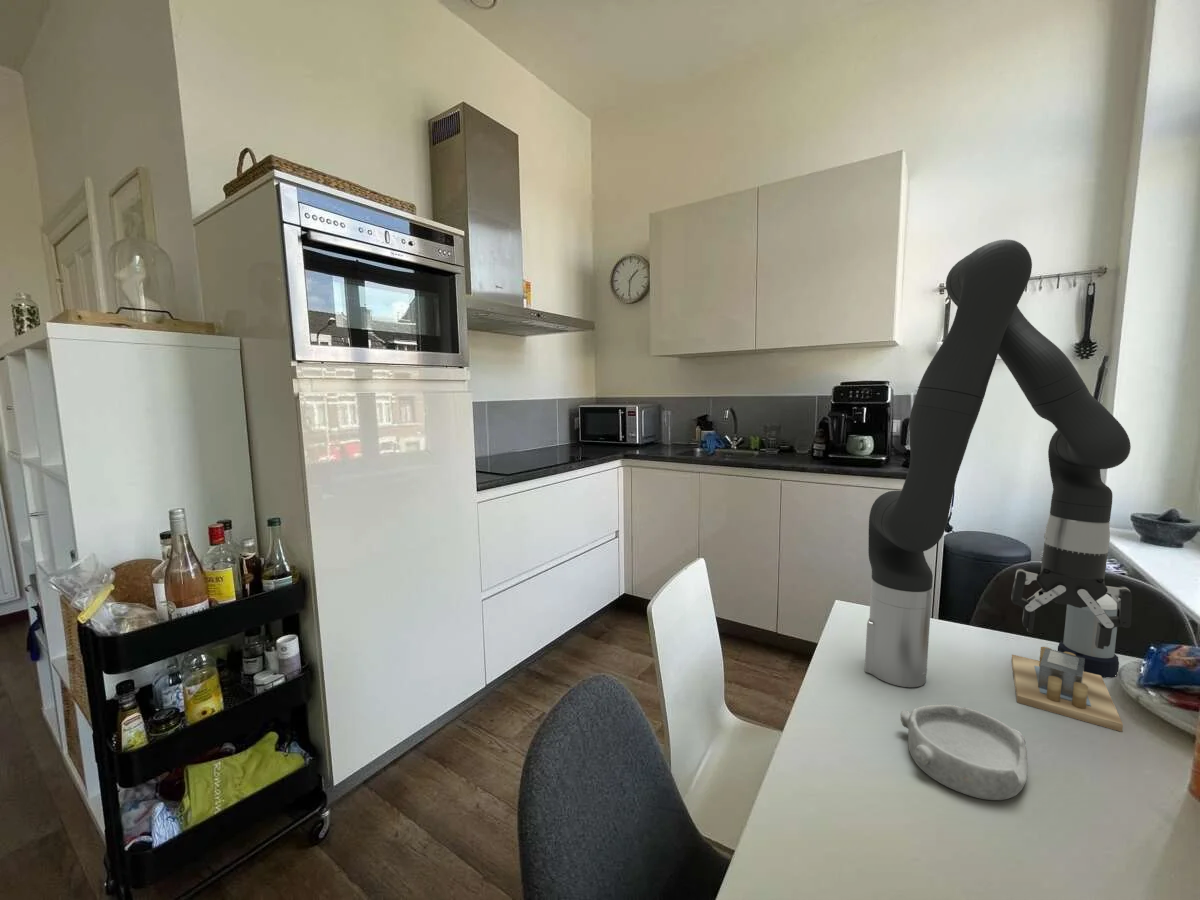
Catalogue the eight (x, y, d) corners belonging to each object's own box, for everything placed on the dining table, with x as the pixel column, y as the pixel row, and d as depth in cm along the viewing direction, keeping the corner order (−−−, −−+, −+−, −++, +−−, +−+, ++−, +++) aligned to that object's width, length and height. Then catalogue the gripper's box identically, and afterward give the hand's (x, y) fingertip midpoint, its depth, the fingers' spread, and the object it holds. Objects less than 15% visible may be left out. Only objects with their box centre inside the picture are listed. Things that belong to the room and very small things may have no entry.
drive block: (1037, 687, 82) (1040, 664, 82) (1043, 669, 87) (1045, 647, 87) (1079, 700, 78) (1081, 676, 78) (1082, 680, 84) (1085, 658, 83)
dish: (1018, 752, 69) (1020, 719, 69) (1044, 826, 58) (1048, 787, 57) (898, 719, 77) (900, 689, 76) (900, 778, 65) (902, 743, 64)
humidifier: (1051, 663, 92) (1063, 533, 89) (1062, 649, 97) (1073, 526, 94) (1113, 683, 85) (1128, 544, 83) (1121, 667, 90) (1136, 535, 88)
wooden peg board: (1122, 731, 73) (1125, 702, 73) (1017, 702, 80) (1019, 675, 80) (1100, 682, 86) (1103, 656, 85) (1011, 660, 93) (1013, 636, 92)
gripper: (1019, 541, 81) (1009, 634, 83) (1145, 560, 73) (1130, 662, 75) (1017, 532, 87) (1007, 618, 89) (1132, 548, 79) (1119, 643, 81)
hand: (1063, 638), depth 82 cm, fingers open, 8 cm apart
